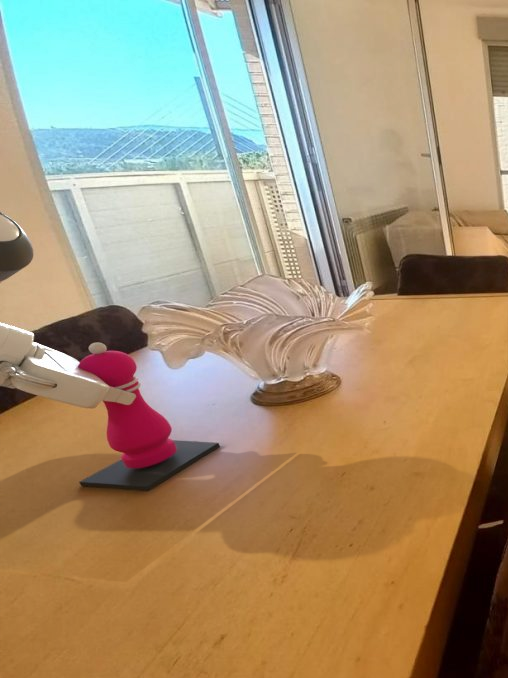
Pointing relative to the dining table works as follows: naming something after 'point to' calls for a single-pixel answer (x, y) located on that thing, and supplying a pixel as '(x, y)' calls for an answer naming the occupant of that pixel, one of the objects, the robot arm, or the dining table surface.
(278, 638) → the dining table surface
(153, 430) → the pepper mill
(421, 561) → the dining table surface
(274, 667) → the dining table surface
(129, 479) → the slate mat
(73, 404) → the robot arm
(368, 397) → the dining table surface
